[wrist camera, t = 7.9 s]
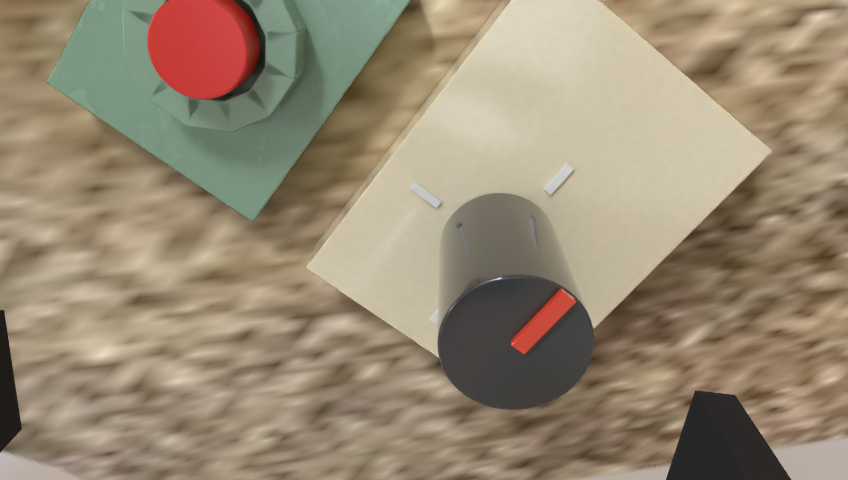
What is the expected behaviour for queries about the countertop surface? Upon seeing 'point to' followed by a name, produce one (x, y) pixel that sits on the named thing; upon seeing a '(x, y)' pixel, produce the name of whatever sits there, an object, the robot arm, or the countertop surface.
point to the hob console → (542, 161)
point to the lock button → (203, 46)
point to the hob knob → (509, 306)
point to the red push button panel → (235, 111)
